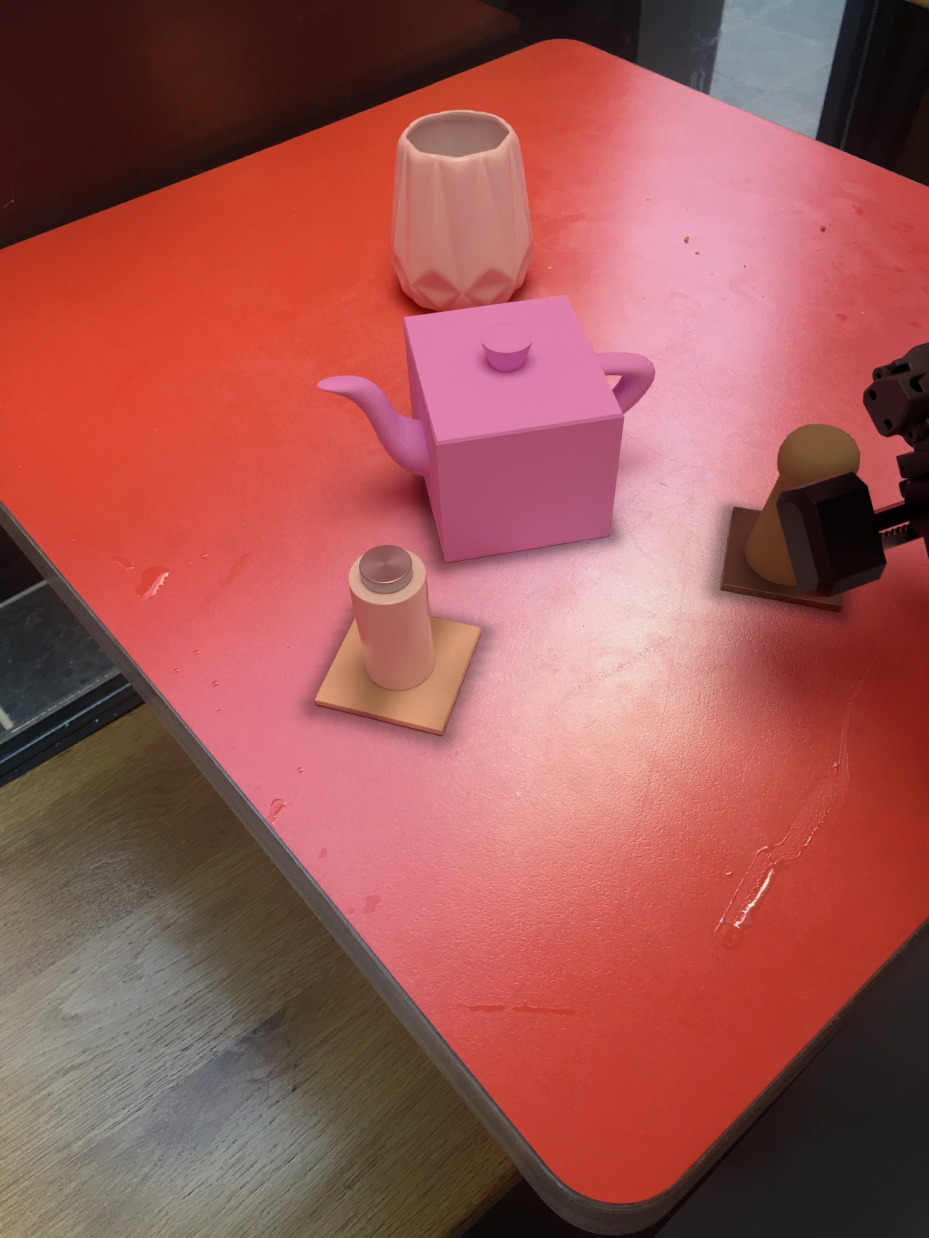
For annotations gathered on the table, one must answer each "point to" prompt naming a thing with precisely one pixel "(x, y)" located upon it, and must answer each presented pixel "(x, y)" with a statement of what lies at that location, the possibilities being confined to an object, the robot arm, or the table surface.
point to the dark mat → (749, 582)
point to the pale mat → (411, 706)
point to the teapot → (508, 424)
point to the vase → (460, 211)
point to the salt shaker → (393, 616)
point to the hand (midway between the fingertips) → (843, 509)
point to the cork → (797, 463)
